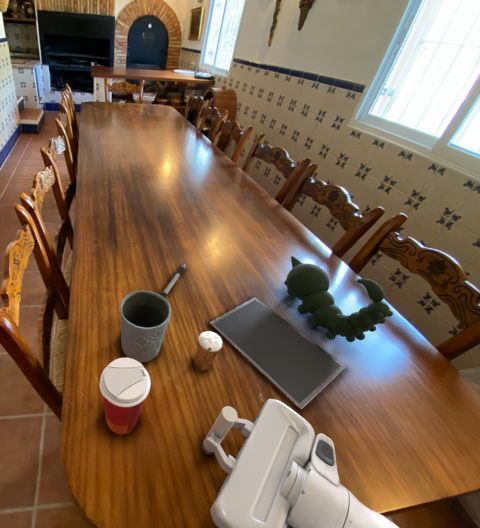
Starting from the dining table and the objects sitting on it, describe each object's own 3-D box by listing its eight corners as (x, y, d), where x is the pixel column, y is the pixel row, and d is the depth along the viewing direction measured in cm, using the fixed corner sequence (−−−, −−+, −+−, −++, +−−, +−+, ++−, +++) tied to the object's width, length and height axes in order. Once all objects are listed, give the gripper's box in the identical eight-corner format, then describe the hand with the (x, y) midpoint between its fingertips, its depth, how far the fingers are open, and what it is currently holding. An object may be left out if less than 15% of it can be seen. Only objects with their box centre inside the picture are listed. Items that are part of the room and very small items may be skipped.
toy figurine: (356, 351, 70) (291, 275, 87) (418, 302, 56) (327, 223, 73) (324, 359, 68) (264, 279, 84) (380, 309, 54) (296, 226, 71)
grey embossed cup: (128, 371, 60) (132, 335, 53) (110, 333, 67) (112, 296, 60) (171, 355, 64) (181, 319, 56) (150, 321, 71) (156, 284, 63)
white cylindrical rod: (217, 449, 50) (241, 416, 42) (208, 457, 49) (230, 425, 41) (208, 438, 52) (229, 403, 43) (199, 445, 51) (218, 411, 42)
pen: (159, 298, 77) (159, 294, 76) (183, 264, 88) (184, 261, 87) (163, 300, 76) (164, 296, 76) (187, 266, 88) (188, 263, 87)
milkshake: (187, 372, 61) (198, 343, 55) (192, 351, 65) (202, 322, 58) (209, 380, 60) (223, 352, 54) (213, 359, 64) (226, 330, 57)
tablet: (344, 368, 64) (346, 366, 63) (299, 411, 56) (301, 409, 56) (253, 298, 79) (254, 296, 78) (208, 324, 71) (209, 322, 71)
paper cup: (134, 392, 57) (141, 349, 48) (148, 433, 52) (159, 394, 43) (94, 403, 55) (94, 361, 46) (105, 447, 49) (106, 409, 40)
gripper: (269, 588, 35) (173, 493, 42) (315, 446, 48) (236, 390, 54) (291, 584, 31) (181, 479, 38) (335, 430, 44) (247, 372, 50)
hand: (214, 426), depth 46 cm, fingers open, 3 cm apart
